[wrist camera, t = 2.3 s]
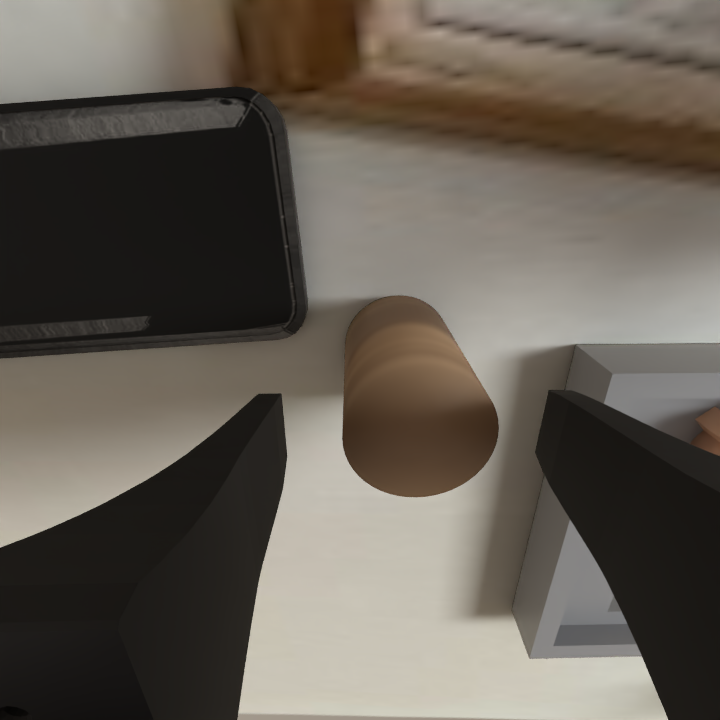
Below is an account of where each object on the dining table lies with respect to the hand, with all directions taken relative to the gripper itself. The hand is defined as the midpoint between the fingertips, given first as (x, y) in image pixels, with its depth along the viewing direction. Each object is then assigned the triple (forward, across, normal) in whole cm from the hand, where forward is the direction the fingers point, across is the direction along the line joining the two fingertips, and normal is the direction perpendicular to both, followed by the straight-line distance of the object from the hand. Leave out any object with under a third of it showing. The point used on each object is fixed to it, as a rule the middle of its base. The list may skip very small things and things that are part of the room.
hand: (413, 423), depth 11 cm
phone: (+6, +11, -4) cm, 13 cm away
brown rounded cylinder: (+5, 0, 0) cm, 5 cm away
